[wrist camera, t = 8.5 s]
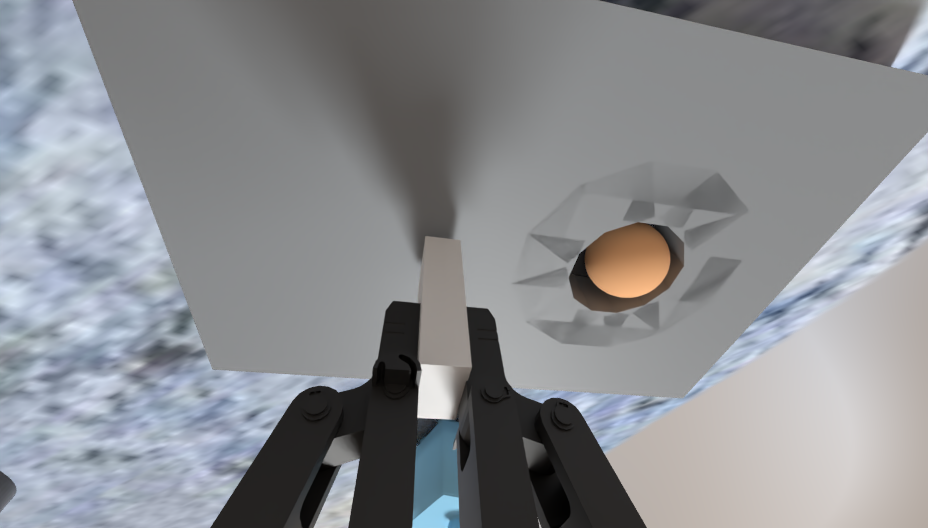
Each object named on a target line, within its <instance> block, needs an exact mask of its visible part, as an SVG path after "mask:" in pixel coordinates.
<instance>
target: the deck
mask: <svg viewBox="0 0 928 528" xmlns="http://www.w3.org/2000/svg"><path fill="white" fill-rule="evenodd" d="M72 1H73V3H74V6H75V8H76V11H77V14H78V16H79V19H80V22H81V24H82V27H83V30H84V32H85V35H86V37H87V40H88V43H89V45H90V48H91V51H92V53H93V56H94V58H95V61H96V64H97V66H98V69H99V72H100V74H101V77H102V80H103V82H104V85H105V87H106V90H107V93H108V95H109V98H110V101H111V103H112V106H113V108H114V111H115V114H116V116H117V119H118V122H119V124H120V127H121V130H122V132H123V135H124V137H125V140H126V143H127V145H128V148H129V151H130V153H131V156H132V158H133V161H134V164H135V166H136V169H137V172H138V174H139V177H140V180H141V182H142V185H143V187H144V190H145V193H146V195H147V198H148V201H149V203H150V206H151V208H152V211H153V214H154V216H155V219H156V222H157V224H158V227H159V230H160V232H161V235H162V237H163V240H164V243H165V245H166V248H167V251H168V253H169V256H170V258H171V261H172V264H173V266H174V269H175V272H176V274H177V277H178V280H179V282H180V285H181V287H182V290H183V293H184V295H185V298H186V301H187V303H188V306H189V308H190V311H191V314H192V316H193V319H194V322H195V324H196V327H197V330H198V332H199V335H200V337H201V340H202V343H203V345H204V348H205V351H206V353H207V356H208V358H209V361H210V364H211V366H212V369H213V370H229V371H245V372H262V373H278V374H294V375H311V376H327V377H344V378H360V379H371V377H372V371H373V366H374V364H375V361H376V360H377V359H378V354H379V348H380V342H381V336H382V329H383V324H384V317H385V311H386V309H387V308H388V307H389V305H390V304H391V303H392V302H393V301H402V302H413V303H418V288H419V279H420V272H421V264H422V257H423V250H424V243H425V236H430V237H438V238H447V239H455V240H460V241H461V252H462V263H463V275H464V286H465V297H466V307H476V308H487V309H489V311H490V312H491V314H492V315H493V317H494V318H495V322H496V327H497V333H498V339H499V340H498V342H499V345H500V350H501V356H502V362H503V367H504V373H505V377H506V380H507V382H508V383H509V384H510V386H511V387H512V388H524V389H540V390H557V391H573V392H590V393H606V394H622V395H639V396H655V397H672V398H683V397H684V396H685V395H686V394H687V393H688V392H689V391H690V390H691V389H692V388H693V387H694V385H695V384H696V383H697V382H698V381H699V380H700V379H701V378H702V377H703V376H704V375H705V374H706V372H707V371H708V370H709V369H710V368H711V367H712V366H713V365H714V364H715V363H716V362H717V360H718V359H719V358H720V357H721V356H722V355H723V354H724V353H725V352H726V351H727V350H728V349H729V347H730V346H731V345H732V344H733V343H734V342H735V341H736V340H737V339H738V338H739V337H740V335H741V334H742V333H743V332H744V331H745V330H746V329H747V328H748V327H749V326H750V325H751V324H752V322H753V321H754V320H755V319H756V318H757V317H758V316H759V315H760V314H761V313H762V312H763V310H764V309H765V308H766V307H767V306H768V305H769V304H770V303H771V302H772V301H773V300H774V299H775V297H776V296H777V295H778V294H779V293H780V292H781V291H782V290H783V289H784V288H785V287H786V285H787V284H788V283H789V282H790V281H791V280H792V279H793V278H794V277H795V276H796V275H797V274H798V272H799V271H800V270H801V269H802V268H803V267H804V266H805V265H806V264H807V263H808V262H809V260H810V259H811V258H812V257H813V256H814V255H815V254H816V253H817V252H818V251H819V250H820V249H821V247H822V246H823V245H824V244H825V243H826V242H827V241H828V240H829V239H830V238H831V237H832V235H833V234H834V233H835V232H836V231H837V230H838V229H839V228H840V227H841V226H842V225H843V224H844V222H845V221H846V220H847V219H848V218H849V217H850V216H851V215H852V214H853V213H854V212H855V210H856V209H857V208H858V207H859V206H860V205H861V204H862V203H863V202H864V201H865V200H866V198H867V197H868V196H869V195H870V194H871V193H872V192H873V191H874V190H875V189H876V188H877V187H878V185H879V184H880V183H881V182H882V181H883V180H884V179H885V178H886V177H887V176H888V175H889V173H890V172H891V171H892V170H893V169H894V168H895V167H896V166H897V165H898V164H899V163H900V162H901V160H902V159H903V158H904V157H905V156H906V155H907V154H908V153H909V152H910V151H911V150H912V148H913V147H914V146H915V145H916V144H917V143H918V142H919V141H920V140H921V139H922V138H923V137H924V135H925V134H926V133H927V132H928V75H923V74H919V73H915V72H910V71H906V70H902V69H897V68H893V67H888V66H884V65H880V64H875V63H871V62H867V61H862V60H858V59H853V58H849V57H845V56H840V55H836V54H832V53H827V52H823V51H818V50H814V49H810V48H805V47H801V46H797V45H792V44H788V43H783V42H779V41H775V40H770V39H766V38H762V37H757V36H753V35H748V34H744V33H740V32H735V31H731V30H727V29H722V28H718V27H713V26H709V25H705V24H700V23H696V22H692V21H687V20H683V19H678V18H674V17H670V16H665V15H661V14H657V13H652V12H648V11H644V10H639V9H635V8H630V7H626V6H622V5H617V4H613V3H609V2H604V1H600V0H72ZM637 222H640V223H648V224H655V229H656V230H657V231H658V232H659V233H660V234H661V235H662V236H663V237H664V239H665V241H666V243H667V245H668V248H669V251H670V266H669V270H668V272H667V275H666V276H665V278H664V280H663V281H662V282H661V283H660V284H659V285H658V286H657V287H656V288H655V289H654V290H652V291H651V292H649V293H647V294H644V295H642V296H638V297H632V298H622V297H617V296H613V295H610V294H608V293H606V292H604V291H603V290H601V289H600V288H598V287H597V286H596V285H595V284H594V283H593V281H592V280H591V279H590V277H585V276H576V275H573V274H572V273H571V271H572V269H573V267H574V264H575V262H576V260H577V258H578V255H579V253H581V252H582V251H583V250H584V249H585V248H587V247H588V246H589V245H590V244H591V243H593V242H594V241H595V240H596V239H598V238H599V237H600V236H601V235H602V234H604V233H605V232H608V231H611V230H615V229H618V228H621V227H624V226H627V225H630V224H634V223H637Z"/></svg>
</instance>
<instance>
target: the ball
mask: <svg viewBox="0 0 928 528" xmlns="http://www.w3.org/2000/svg"><path fill="white" fill-rule="evenodd" d="M585 266H586V270H587V273H588V275H589V277H590V279H591V280H592V281H593V283H594V284H595V285H596V286H597V287H598V288H600V289H601V290H603V291H604V292H606V293H608V294H610V295H613V296H617V297H622V298H632V297H638V296H642V295H644V294H647V293H649V292H651V291H652V290H654V289H655V288H656V287H657V286H658V285H659V284H660V283H661V282H662V281H663V280H664V278H665V276H666V275H667V272H668V270H669V266H670V251H669V248H668V245H667V243H666V241H665V239H664V237H663V236H662V235H661V234H660V233H659V232H658V231H657V230H656V229H655V228H653V227H652V226H650V225H648V224H646V223H640V222H637V223H634V224H630V225H627V226H624V227H621V228H618V229H615V230H611V231H608V232H605V233H604V234H602V235H601V236H600V237H599V238H598V239H596V240H595V241H594V242H593V243H591V244H590V245H589V246H588V247H587V248H586V252H585Z"/></svg>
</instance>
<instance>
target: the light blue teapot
mask: <svg viewBox="0 0 928 528" xmlns="http://www.w3.org/2000/svg"><path fill="white" fill-rule="evenodd" d="M458 427H459V422H456V421H455V420H452V419H439V420H438V424H437V425H436V426H435V427H434V428H433V430H432V431H431V432H430V433H429V434H428V435H427V436H426V437H425V438H422V439H421V440H420V444H419V445H418V446H417V447H416V459H415V481H414V503H413V525H412V528H460V521H459V495H458V469H457V448H456V450H452V449H453V443H454V440H455V437H456V434H457V430H458Z"/></svg>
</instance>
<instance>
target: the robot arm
mask: <svg viewBox="0 0 928 528" xmlns="http://www.w3.org/2000/svg"><path fill="white" fill-rule="evenodd" d="M498 340H499V339H498V333H497V327H496V322H495V318H494V317H493V315H492V314H491V312H490V311H489V309H487V308H476V307H466V297H465V286H464V275H463V263H462V252H461V241H460V240H455V239H447V238H438V237H430V236H425V243H424V250H423V257H422V264H421V272H420V279H419V288H418V303H413V302H402V301H393V302H392V303H391V304H390V305H389V307H388V308H387V309H386V311H385V317H384V324H383V329H382V336H381V342H380V348H379V354H378V359H377V360H376V361H375V364H374V366H373V371H372V377H371V379H370V380H369V381H368V382H366V383H365V384H363V385H362V386H360V387H357V388H355V389H351V390H347V391H343V392H339V393H338V392H337V391H336V390H334V389H332V388H330V387H326V386H316V387H312V388H308V389H306V390H305V391H303V392H301V393H299V395H298V396H297V397H296V398H295V399H294V400H293V401H292V403H291V404H290V406H289V407H288V409H287V410H286V412H285V413H284V415H283V416H282V418H281V420H280V421H279V423H278V424H277V426H276V427H275V429H274V430H273V432H272V433H271V435H270V437H269V438H268V440H267V441H266V443H265V444H264V446H263V447H262V449H261V450H260V452H259V454H258V455H257V457H256V458H255V460H254V461H253V463H252V464H251V466H250V467H249V469H248V470H247V472H246V474H245V475H244V477H243V478H242V480H241V481H240V483H239V484H238V486H237V487H236V489H235V491H234V492H233V494H232V495H231V497H230V498H229V500H228V501H227V503H226V504H225V506H224V508H223V509H222V511H221V512H220V514H219V515H218V517H217V518H216V520H215V521H214V523H213V525H212V526H211V528H313V527H314V525H315V523H316V521H317V518H318V516H319V514H320V512H321V510H322V507H323V505H324V503H325V501H326V498H327V496H328V494H329V492H330V489H331V487H332V485H333V483H334V480H335V478H336V476H337V474H338V471H339V469H340V467H341V465H342V464H344V463H347V462H350V461H353V460H356V459H359V458H360V461H359V467H358V473H357V479H356V485H355V491H354V497H353V503H352V509H351V515H350V521H349V527H348V528H412V525H413V503H414V481H415V459H416V437H417V418H429V419H452V420H456V418H457V415H459V427H458V430H457V434H456V437H455V440H454V443H453V449H452V450H456V448H457V469H458V495H459V521H460V528H539V523H538V519H539V522H540V525H541V527H542V528H647V527H646V526H645V524H644V522H643V520H642V519H641V517H640V515H639V513H638V512H637V510H636V508H635V506H634V505H633V503H632V501H631V500H630V498H629V496H628V494H627V493H626V491H625V489H624V488H623V486H622V484H621V482H620V480H619V479H618V477H617V475H616V473H615V472H614V470H613V468H612V466H611V465H610V463H609V461H608V460H607V458H606V456H605V454H604V453H603V451H602V449H601V447H600V446H599V444H598V442H597V440H596V439H595V437H594V435H593V433H592V432H591V430H590V428H589V426H588V425H587V423H586V421H585V420H584V418H583V416H582V414H581V413H580V412H579V410H578V409H577V408H576V407H575V406H574V405H573V404H571V403H570V402H568V401H566V400H563V399H561V398H550V399H548V400H546V401H545V402H544V403H543V404H542V403H539V402H536V401H534V400H531V399H528V398H526V397H524V396H522V395H520V394H518V393H517V392H516V391H514V390H513V389H512V387H511V386H510V384H509V383H508V382H507V380H506V377H505V373H504V367H503V362H502V356H501V350H500V345H499V342H498ZM15 494H16V486H15V484H14V483H13V481H12V480H11V479H10V478H9V477H7V476H6V475H5V474H4V473H2V472H1V471H0V512H1V511H2V510H3V509H4V507H5V506H6V505H7V504H8V503H9V502H10V500H11V499H12V498H13V497H14V496H15ZM537 517H538V518H537Z"/></svg>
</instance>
